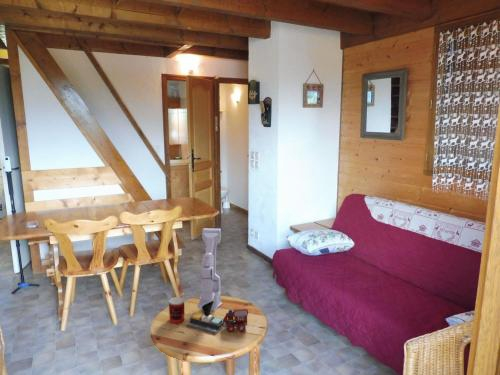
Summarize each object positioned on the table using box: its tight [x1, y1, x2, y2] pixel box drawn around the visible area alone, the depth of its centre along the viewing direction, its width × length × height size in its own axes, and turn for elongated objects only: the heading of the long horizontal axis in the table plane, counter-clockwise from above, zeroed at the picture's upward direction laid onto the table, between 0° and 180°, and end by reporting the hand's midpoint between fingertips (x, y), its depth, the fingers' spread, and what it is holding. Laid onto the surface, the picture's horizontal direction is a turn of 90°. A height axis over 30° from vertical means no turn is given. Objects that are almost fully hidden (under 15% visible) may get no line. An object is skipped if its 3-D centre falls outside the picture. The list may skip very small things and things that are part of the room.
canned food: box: [168, 296, 186, 325], centre depth 195 cm, size 8×8×11 cm
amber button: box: [191, 312, 204, 320], centre depth 194 cm, size 4×4×2 cm
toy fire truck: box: [222, 308, 249, 333], centre depth 188 cm, size 7×12×10 cm, turn 96°
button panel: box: [185, 312, 224, 335], centre depth 192 cm, size 12×17×3 cm
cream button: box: [202, 314, 213, 323], centre depth 192 cm, size 4×4×2 cm
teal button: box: [211, 317, 223, 325], centre depth 190 cm, size 4×4×2 cm
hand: (206, 315), depth 192 cm, fingers closed
